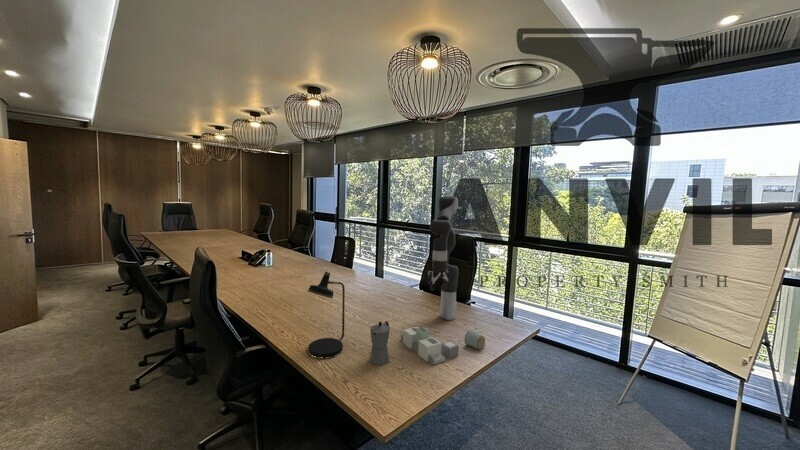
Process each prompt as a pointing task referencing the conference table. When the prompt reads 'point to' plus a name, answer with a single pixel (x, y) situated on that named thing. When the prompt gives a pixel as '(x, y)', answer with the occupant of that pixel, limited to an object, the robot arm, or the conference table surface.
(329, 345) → the lamp
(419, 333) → the module
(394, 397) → the conference table surface
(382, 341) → the coffeepot
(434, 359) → the rail
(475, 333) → the ceramic mug
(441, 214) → the robot arm
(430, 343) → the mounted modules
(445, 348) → the block
